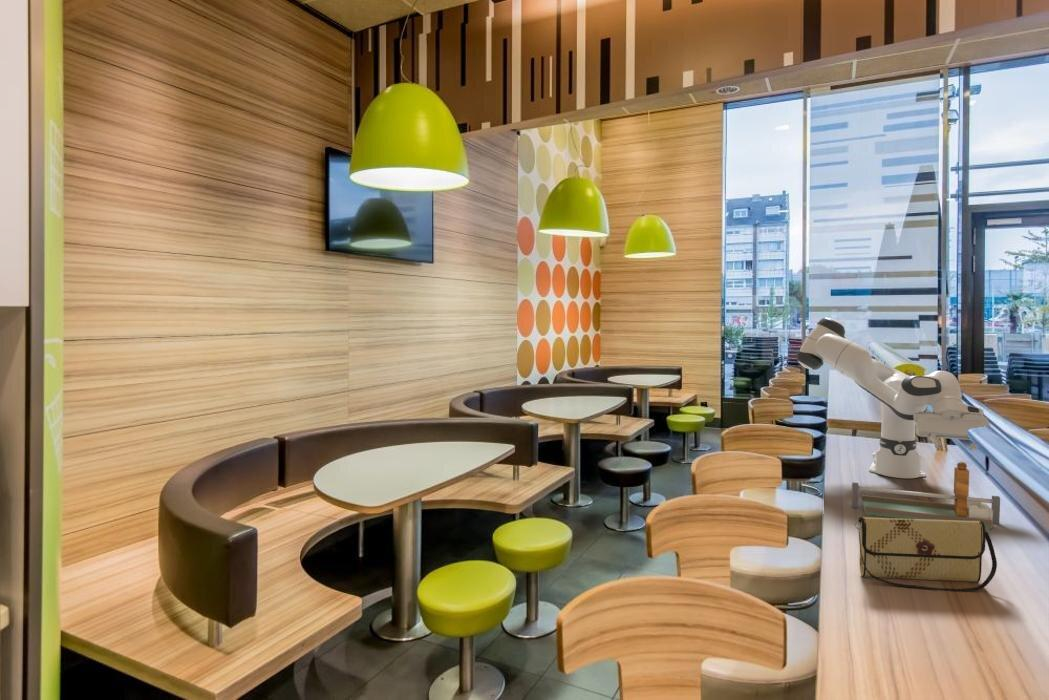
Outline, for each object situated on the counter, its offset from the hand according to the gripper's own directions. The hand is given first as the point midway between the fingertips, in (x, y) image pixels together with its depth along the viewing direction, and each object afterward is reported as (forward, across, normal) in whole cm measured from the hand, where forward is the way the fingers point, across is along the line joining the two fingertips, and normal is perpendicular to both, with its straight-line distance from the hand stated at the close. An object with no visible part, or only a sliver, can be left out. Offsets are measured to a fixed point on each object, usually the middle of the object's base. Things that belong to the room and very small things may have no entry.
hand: (956, 448), depth 185 cm
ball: (+19, +3, +4) cm, 20 cm away
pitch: (+21, -11, +7) cm, 25 cm away
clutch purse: (+59, -20, -31) cm, 69 cm away
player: (+20, -1, +5) cm, 21 cm away
